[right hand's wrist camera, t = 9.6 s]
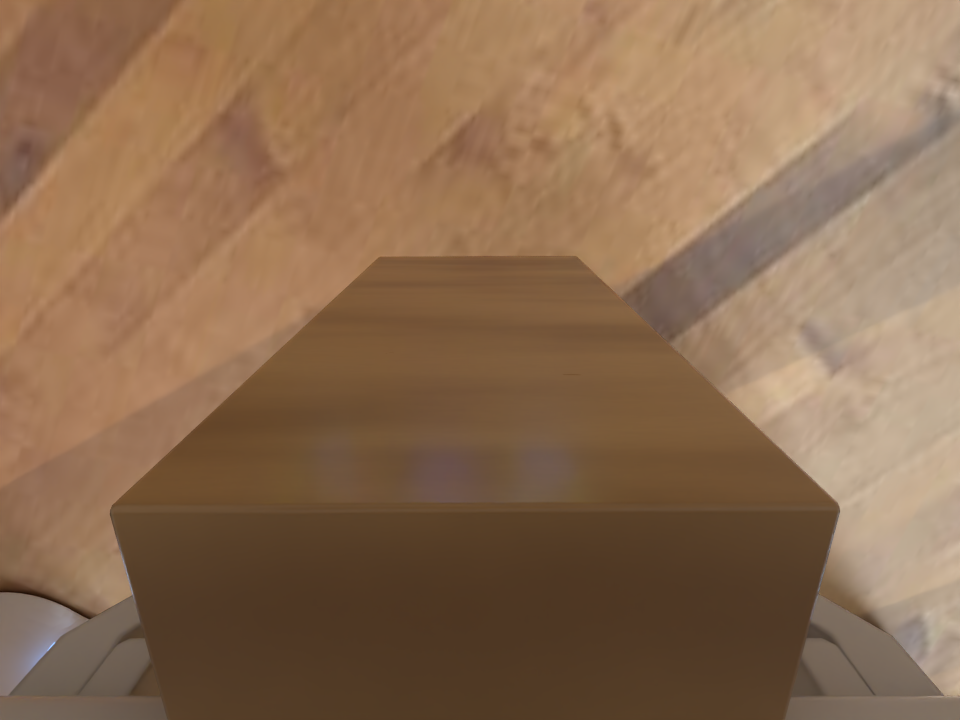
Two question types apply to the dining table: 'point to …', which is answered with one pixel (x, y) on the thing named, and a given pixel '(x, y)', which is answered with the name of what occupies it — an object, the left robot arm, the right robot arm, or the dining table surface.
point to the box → (476, 518)
